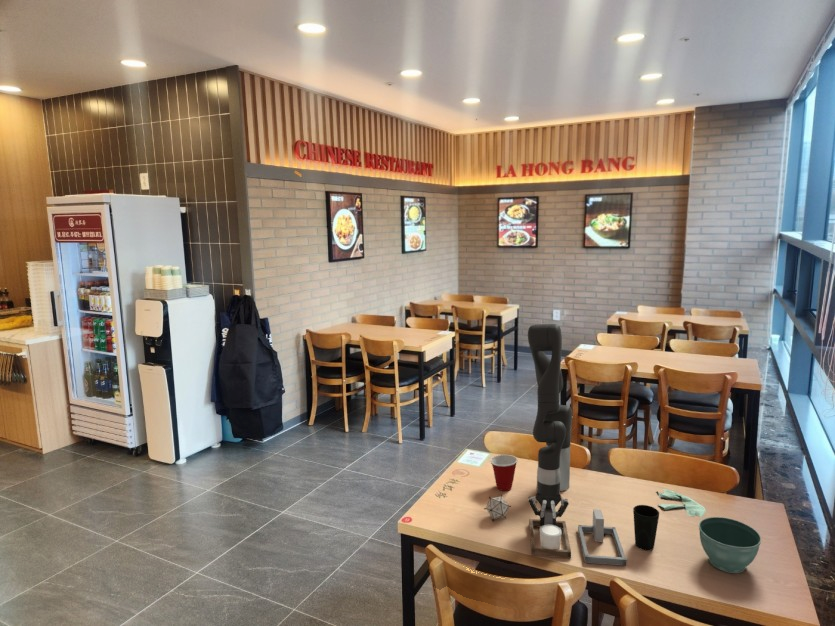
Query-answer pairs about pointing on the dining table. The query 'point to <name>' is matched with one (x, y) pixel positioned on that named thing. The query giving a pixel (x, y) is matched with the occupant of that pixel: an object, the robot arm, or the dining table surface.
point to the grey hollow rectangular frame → (598, 533)
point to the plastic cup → (504, 471)
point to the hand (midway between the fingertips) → (547, 526)
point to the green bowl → (729, 543)
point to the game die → (497, 507)
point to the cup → (645, 526)
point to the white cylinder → (550, 537)
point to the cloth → (689, 507)
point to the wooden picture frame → (549, 552)
